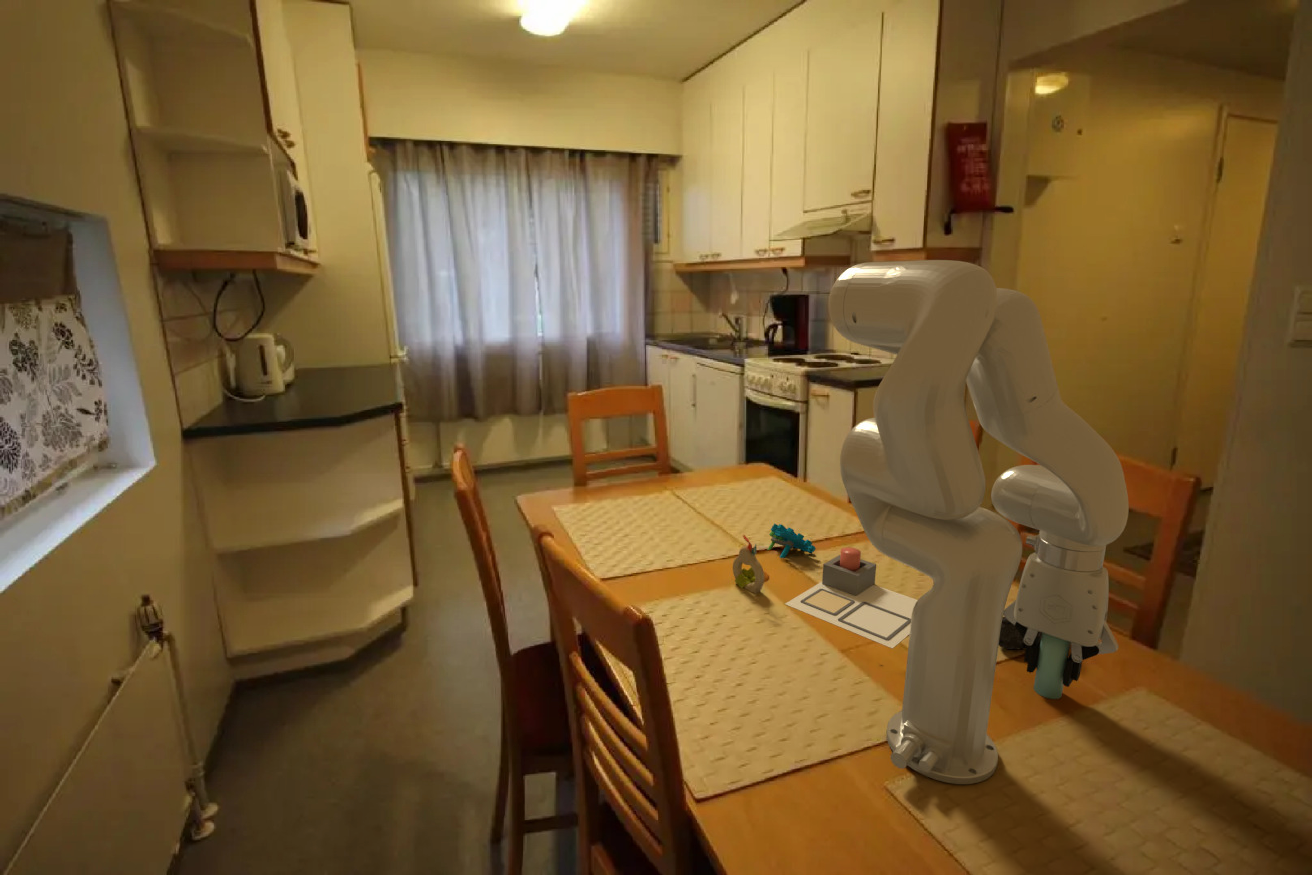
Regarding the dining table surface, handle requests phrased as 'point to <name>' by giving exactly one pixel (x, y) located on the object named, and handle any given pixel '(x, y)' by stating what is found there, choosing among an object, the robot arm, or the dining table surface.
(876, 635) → the cream board with squares
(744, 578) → the grey ring ornament
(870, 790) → the dining table surface
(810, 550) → the toy dinosaur
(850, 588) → the button collar
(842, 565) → the button
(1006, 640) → the rock
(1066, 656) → the cylinder
